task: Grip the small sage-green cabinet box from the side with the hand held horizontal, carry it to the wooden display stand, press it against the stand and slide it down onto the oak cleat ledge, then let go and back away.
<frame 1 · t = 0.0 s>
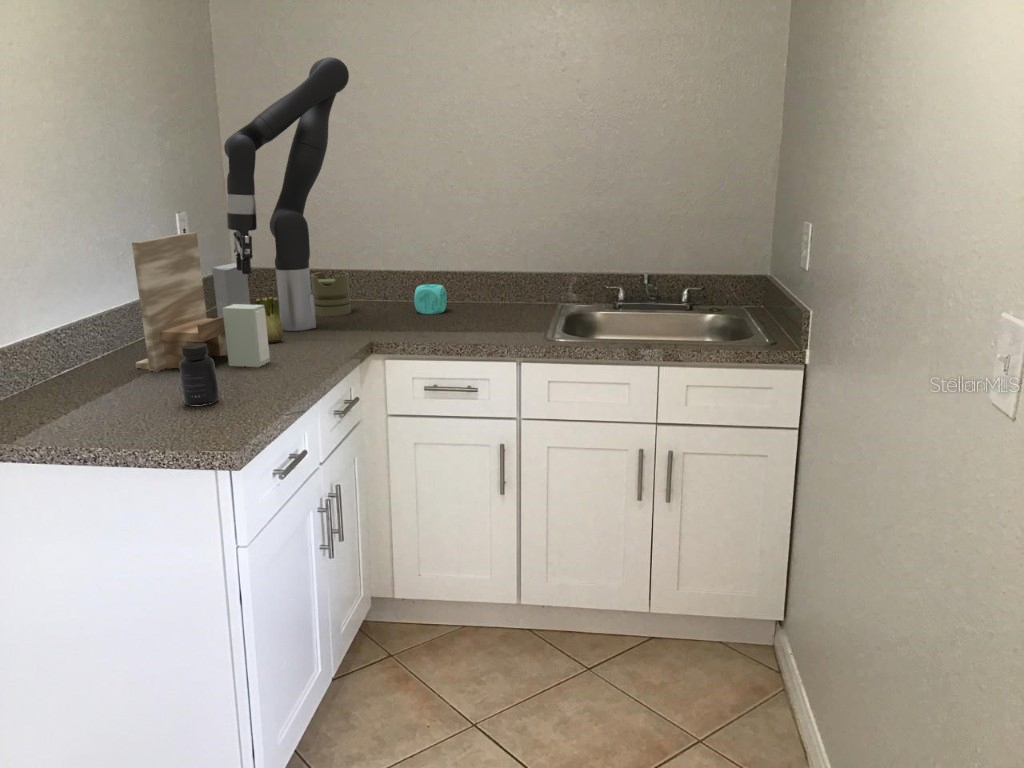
hand: (243, 272, 232), 17 cm above the worktop, tool pointing down, fingers open, 8 cm apart
supplement bottle: (201, 403, 174), on the worktop
skincare box: (234, 317, 261), on the worktop
fennel bulb: (272, 342, 226), on the worktop
cabinet: (249, 363, 204), on the worktop
decorative dice: (431, 312, 263), on the worktop
piston: (332, 313, 264), on the worktop
wooden display stand: (185, 360, 208), on the worktop
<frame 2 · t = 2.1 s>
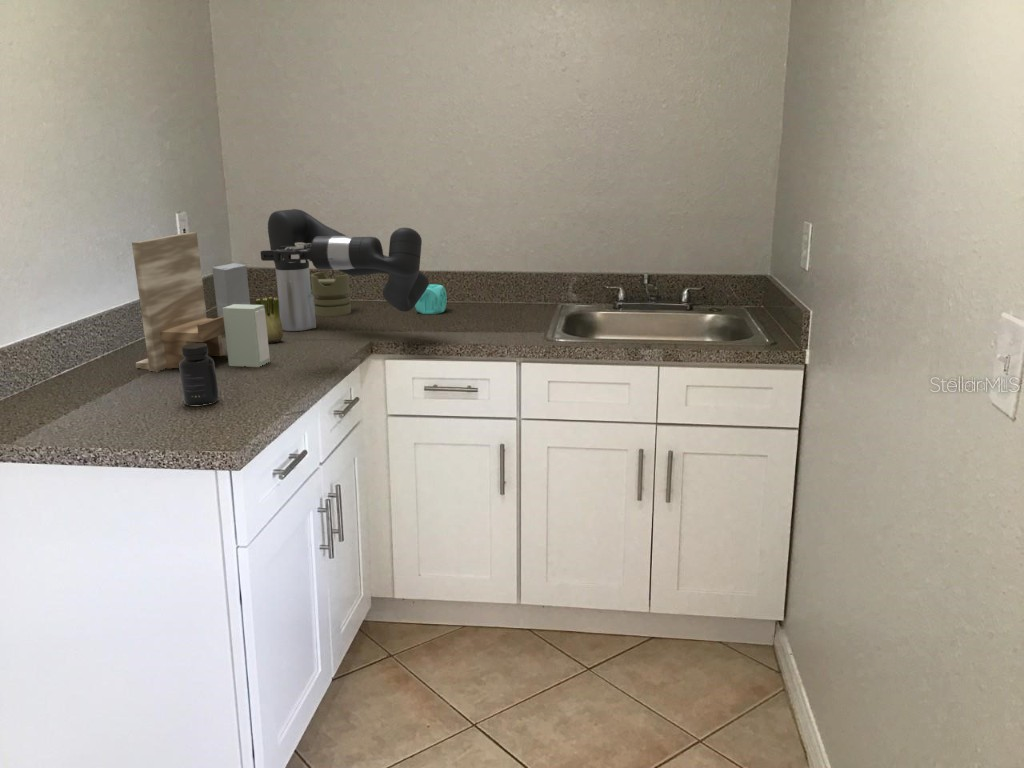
hand: (270, 253, 195), 27 cm above the worktop, tool horizontal, fingers open, 8 cm apart
nothing on the worktop moved.
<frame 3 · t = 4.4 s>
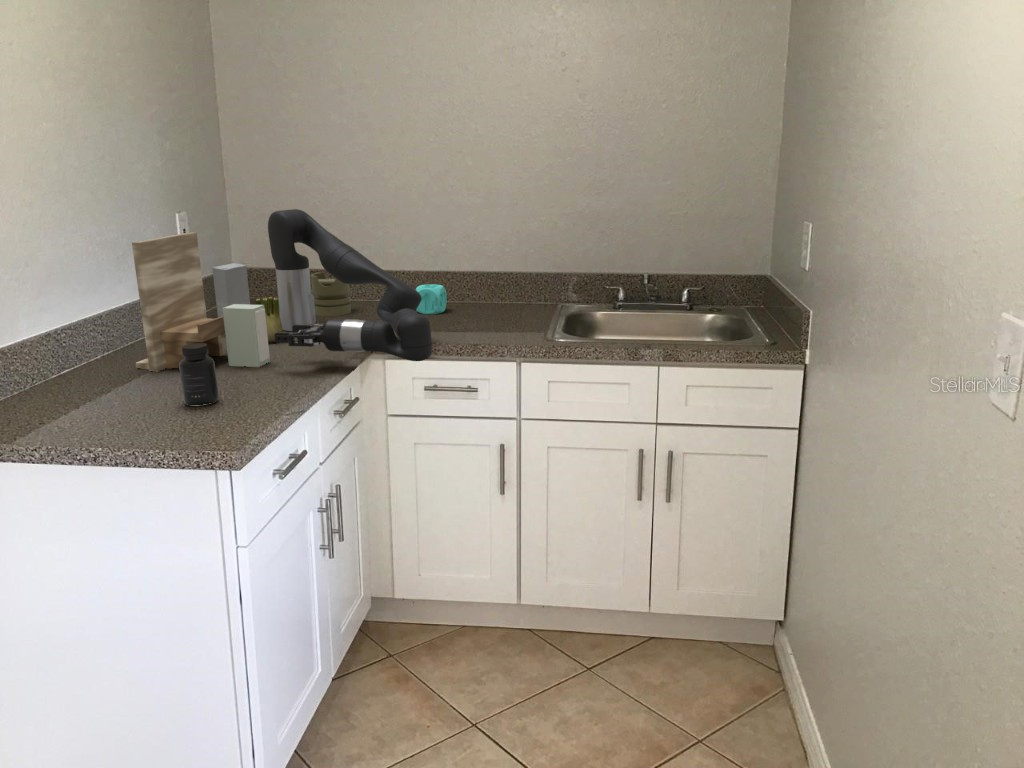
hand: (284, 333, 199), 8 cm above the worktop, tool horizontal, fingers open, 8 cm apart
nothing on the worktop moved.
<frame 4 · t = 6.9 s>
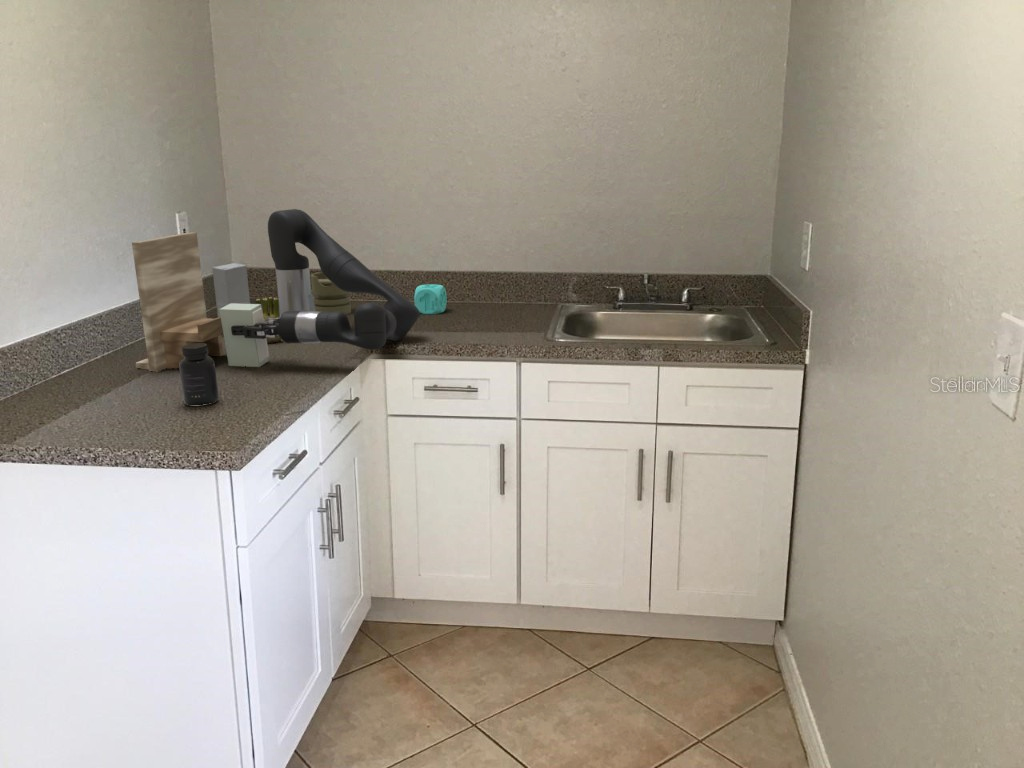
hand: (239, 328, 201), 9 cm above the worktop, tool horizontal, fingers closed on cabinet, 5 cm apart
cabinet: (249, 362, 204), on the worktop, tilted 5°, touching gripper
everything else where it was.
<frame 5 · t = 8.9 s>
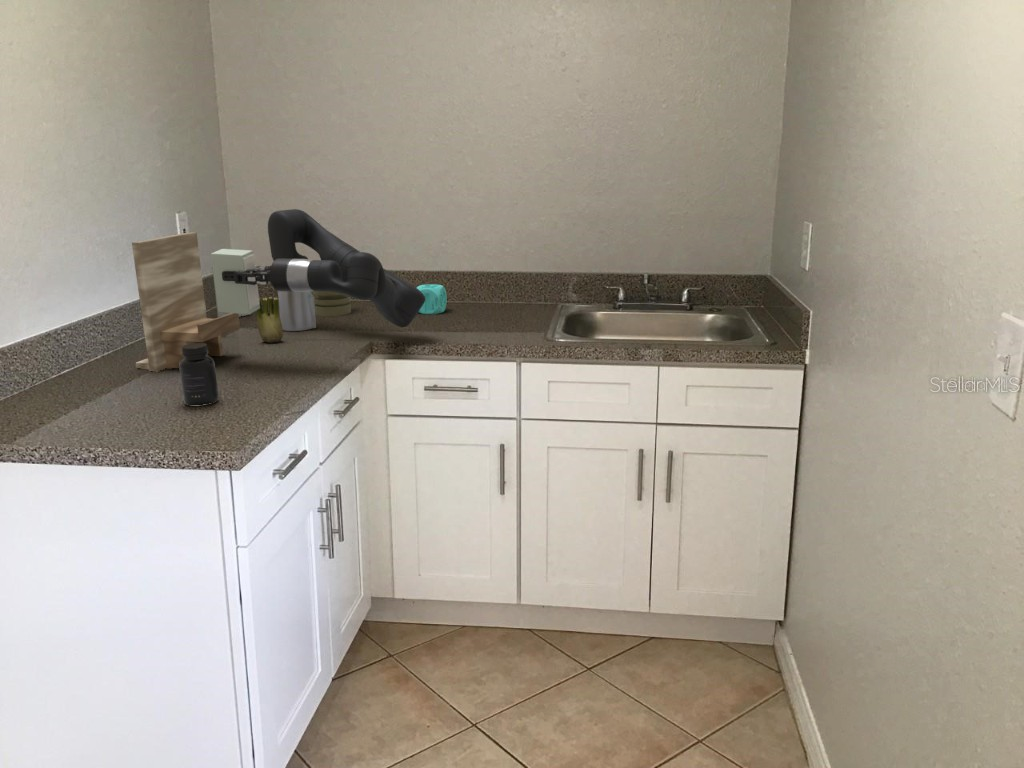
hand: (230, 274, 198), 22 cm above the worktop, tool horizontal, fingers closed on cabinet, 5 cm apart
cabinet: (239, 310, 201), point 13 cm above the worktop, tilted 6°, touching gripper
everything else where it was.
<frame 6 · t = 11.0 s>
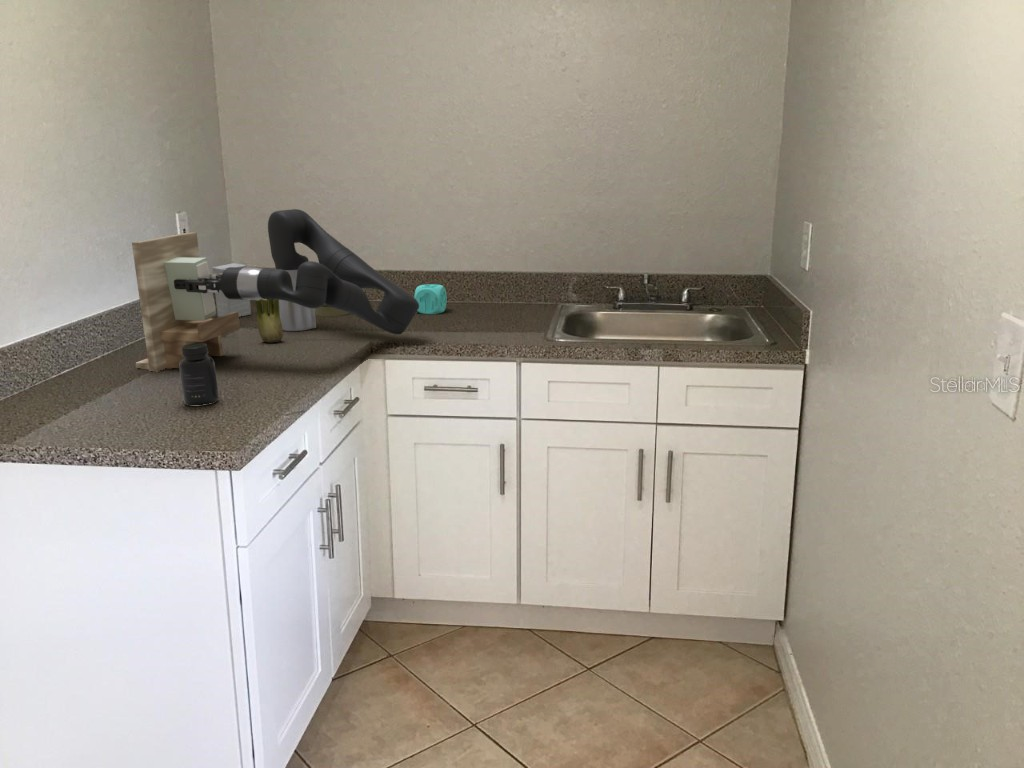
hand: (182, 282, 202), 19 cm above the worktop, tool horizontal, fingers closed on cabinet, 5 cm apart
cabinet: (195, 317, 204), point 11 cm above the worktop, tilted 6°, touching gripper
everything else where it was.
when the fingers open (18 cm above the worktop, at t = 11.7 s): cabinet stays where it is, resting on wooden display stand.
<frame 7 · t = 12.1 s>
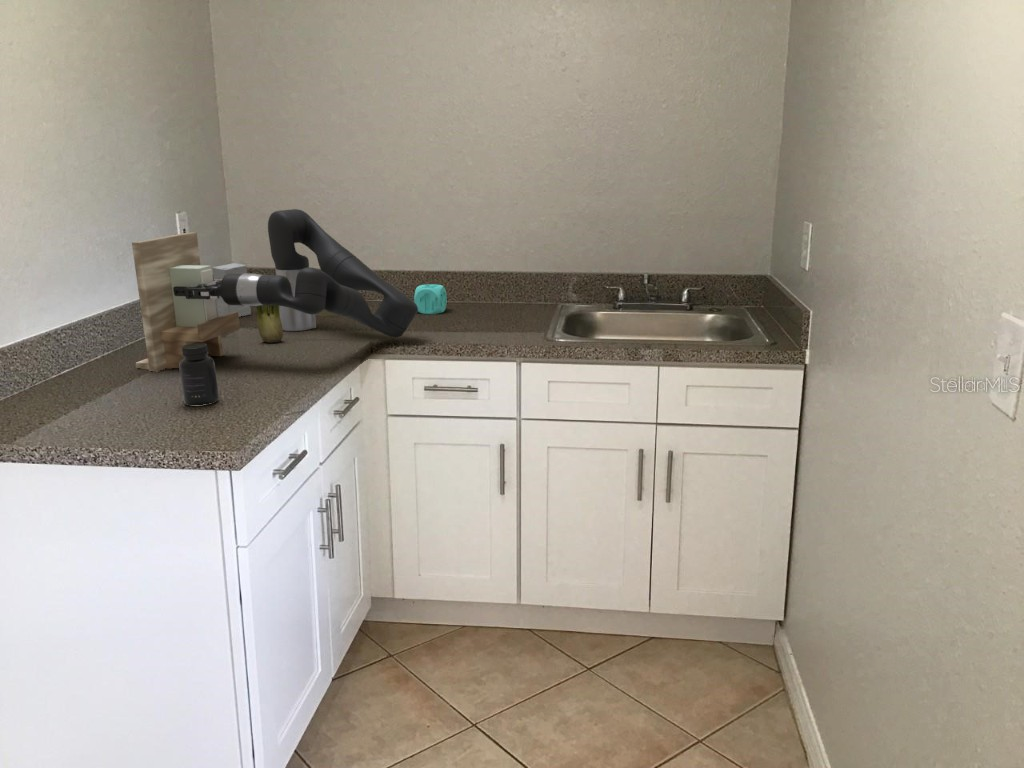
hand: (185, 288, 202), 18 cm above the worktop, tool horizontal, fingers open, 8 cm apart
cabinet: (197, 324, 205), point 9 cm above the worktop, touching wooden display stand
everything else where it was.
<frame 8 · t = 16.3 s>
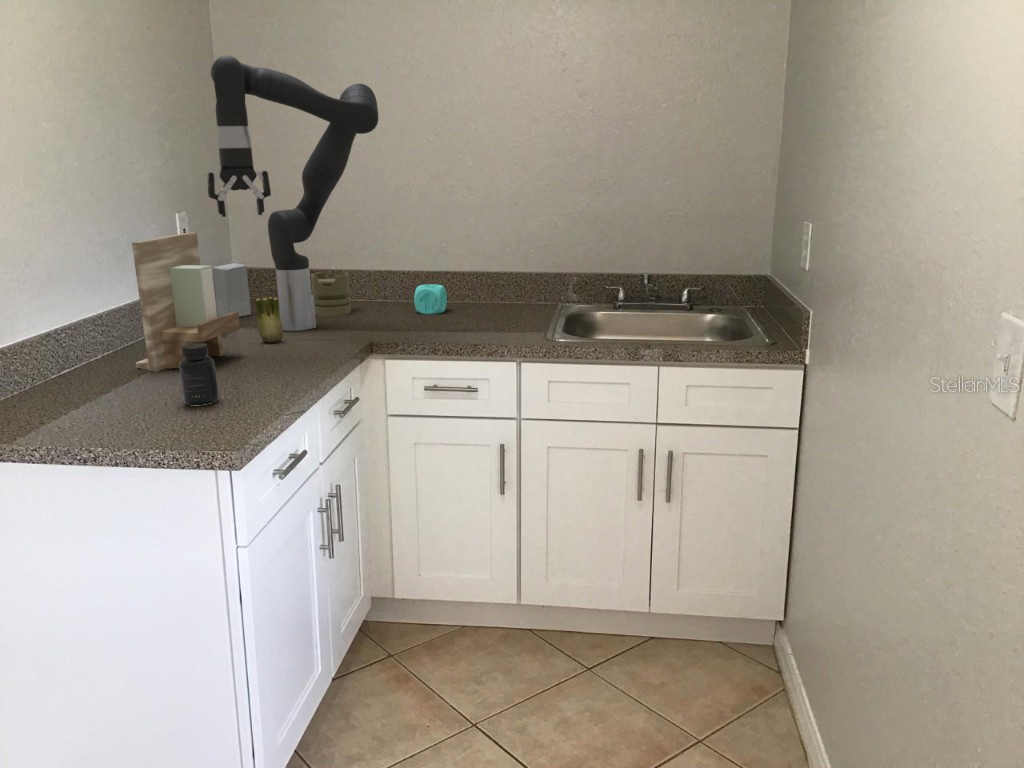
hand: (242, 215, 206), 34 cm above the worktop, tool pointing down, fingers open, 8 cm apart
nothing on the worktop moved.
at the end: cabinet inside the target area on the wooden display stand (0.7 cm from its centre), point 9.0 cm above the wooden display stand's base; cabinet touching wooden display stand; cabinet tilted 0° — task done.
